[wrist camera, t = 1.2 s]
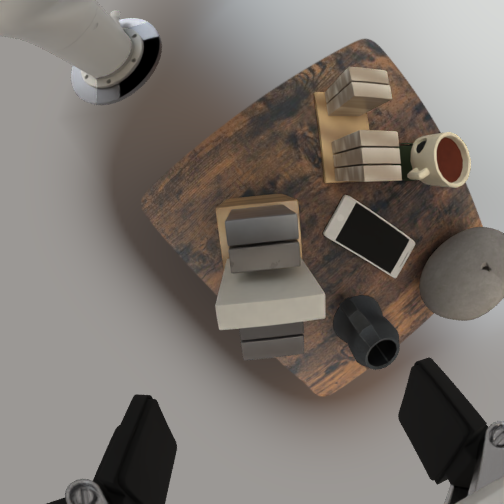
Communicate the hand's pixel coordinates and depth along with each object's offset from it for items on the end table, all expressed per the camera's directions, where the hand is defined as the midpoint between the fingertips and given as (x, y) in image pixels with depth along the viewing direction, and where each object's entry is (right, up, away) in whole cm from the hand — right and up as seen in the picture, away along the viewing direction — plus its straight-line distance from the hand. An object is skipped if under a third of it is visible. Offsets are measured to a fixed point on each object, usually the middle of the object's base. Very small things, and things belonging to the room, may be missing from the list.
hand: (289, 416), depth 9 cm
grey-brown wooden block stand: (+13, +23, +30) cm, 40 cm away
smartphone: (+18, +8, +34) cm, 39 cm away
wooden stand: (0, +8, +33) cm, 34 cm away
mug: (+16, -5, +37) cm, 41 cm away
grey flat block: (0, +5, +20) cm, 20 cm away
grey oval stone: (+32, +5, +35) cm, 48 cm away
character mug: (+23, +20, +31) cm, 44 cm away
